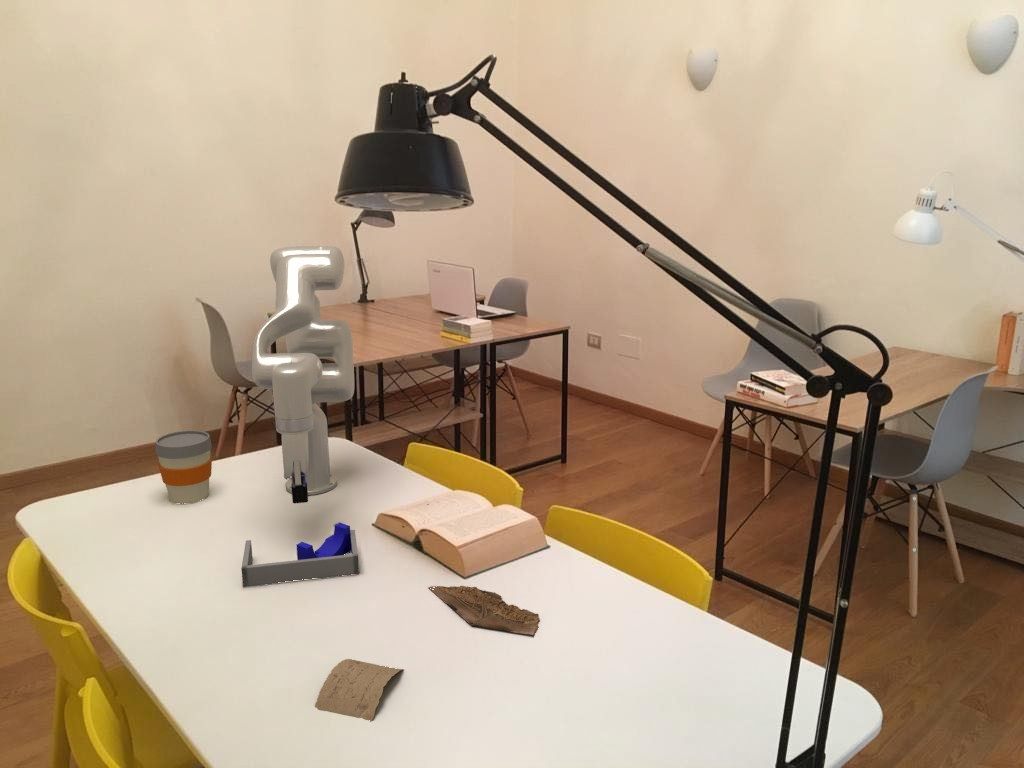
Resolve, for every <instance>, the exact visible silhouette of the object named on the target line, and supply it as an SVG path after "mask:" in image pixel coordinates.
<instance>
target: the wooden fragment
mask: <svg viewBox="0 0 1024 768" xmlns="http://www.w3.org/2000/svg"><path fill="white" fill-rule="evenodd" d="M436 586H437V587H436ZM428 587H429V588H431V589H429V588H428V589H429V591H431V590H432V589H434V590H432V591H431V593H433V594H434V595H436V596H437V597H438V598H439V599H440V600H441V601H443V602H444V603H445V604H446V605H448V606H449V607H451V608H452V610H454V611H455V612H456V613H457V614H458V615H460V617H461V618H462V619H464V620H465V621H466V622H467V623H468V624H469V625H470V626H471V627H476V626H477V627H482V628H488V629H494V630H499V631H506V632H511V633H515V634H521V635H522V634H524V635H532V637H533V638H535V635H536V634H535V633H537V632H538V630H539V629H538V628H539V627H540V626H539V623H540V617H539V613H535V612H532V611H530V610H528V609H525V608H523V609H521V608H520V607H519V606H517V605H515V604H508V603H507V602H506V601H504V600H503V599H502V596H501V595H500V594H498V593H496V592H493V591H487V590H484V589H480V588H478V587H477V586H472V587H471V586H468V585H467V586H465V585H460V586H454V585H453V586H452V585H451V586H443V585H434V586H433V585H431V586H428ZM433 587H435V588H433Z"/></svg>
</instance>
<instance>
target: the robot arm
mask: <svg viewBox="0 0 1024 768" xmlns="http://www.w3.org/2000/svg"><path fill="white" fill-rule="evenodd" d="M341 250H342V249H340V248H339V247H337V246H330V245H329V246H328V245H327V246H286V247H285V246H284V247H279V248H276V249H275V250H273V251H272V252H271V254H270V256H269V257H270V258H269V265H270V268H271V273H272V276H273V279H274V281H275V312H274V313H273V314H272V315H271V316H270V317H269V318H268V319H267V320H265V321H264V323H263V324H262V325H261V327H260V328H259V330H258V331H257V332H256V333H257V334H256V335H255V338H254V341H253V344H252V359H251V360H252V361H251V374H252V375H251V376H252V380H253V382H254V384H255V385H256V386H257V387H258V388H260V389H263V390H272V394H273V408H274V417H275V429H276V432H277V433H279V434H280V435H281V450H282V451H281V452H282V463H283V464H282V465H283V478H284V479H285V480H287V481H286V482H285V486H284V487H285V489H286V491H287V492H289V493H291V497H292V499H291V500H292V504H304V503H308V502H309V496H313V495H320V494H323V493H327V492H329V491H331V490H333V489H334V488H335V487H336V486H337V484H338V483H337V482H338V480H337V477H336V476H335V475H333V474H331V466H330V465H331V464H330V450H329V434H328V419H327V416H326V414H325V413H324V411H323V409H322V408H321V407H320V406H319V405H318V404H319V403H336V402H346V401H348V400H351V399H352V398H353V397H354V394H355V367H354V366H355V365H354V347H353V346H354V345H353V335H352V329H351V327H350V325H349V323H347V322H346V321H345V320H341V319H322V317H321V302H320V299H319V298H318V296H317V295H316V293H315V291H336V290H339V289H340V287H341V286H342V284H343V278H344V274H345V259H344V258H345V257H344V255H343V253H342V251H341ZM282 337H285V345H286V346H285V347H286V351H287V352H283V353H280V352H279V353H268V351H269V348H270V347H271V346H272V345H273V344H274V343H275V342H277V341H278V340H279V339H281V338H282ZM321 359H332V360H333V361H334V362H328V363H327V362H324V363H322V360H321ZM317 403H318V404H317Z"/></svg>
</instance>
